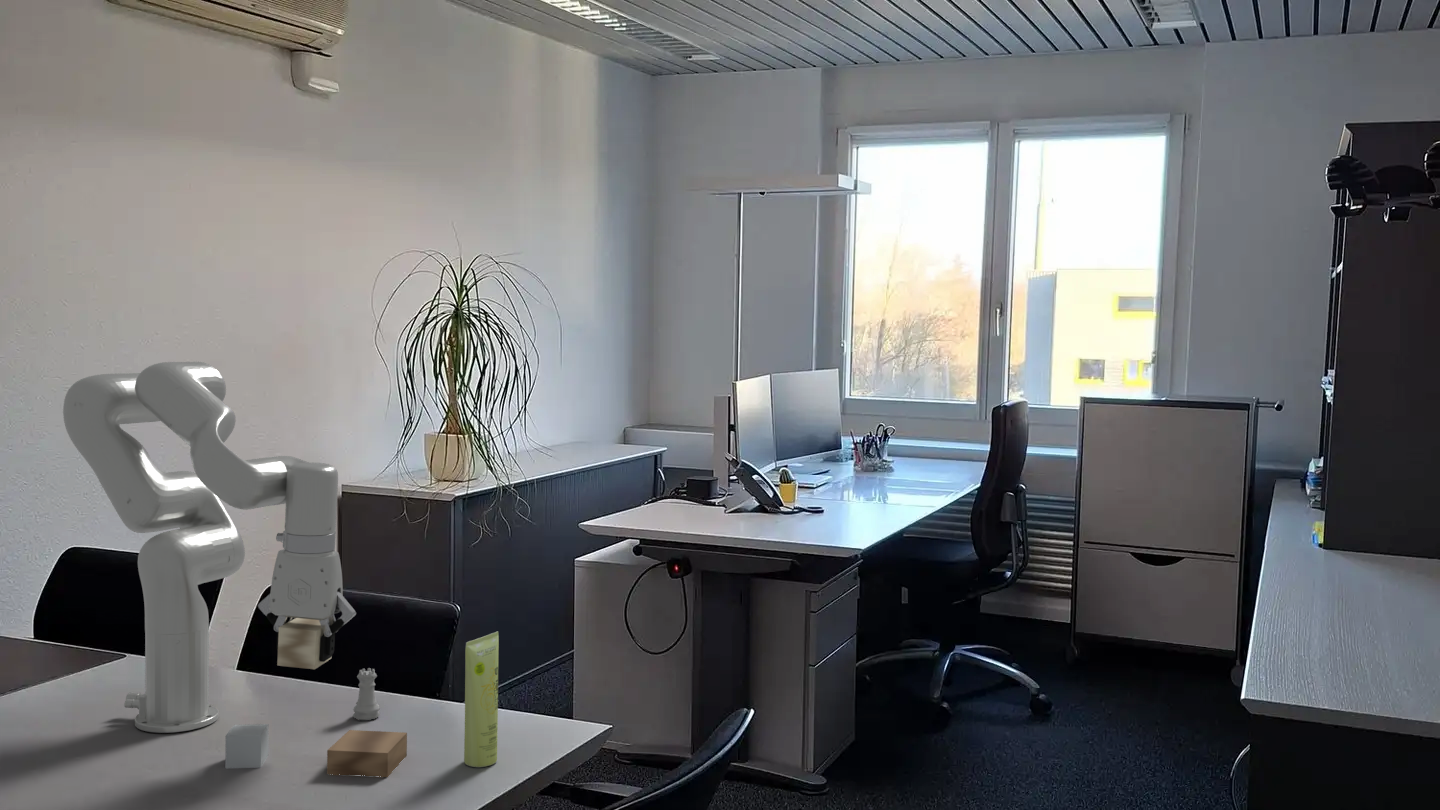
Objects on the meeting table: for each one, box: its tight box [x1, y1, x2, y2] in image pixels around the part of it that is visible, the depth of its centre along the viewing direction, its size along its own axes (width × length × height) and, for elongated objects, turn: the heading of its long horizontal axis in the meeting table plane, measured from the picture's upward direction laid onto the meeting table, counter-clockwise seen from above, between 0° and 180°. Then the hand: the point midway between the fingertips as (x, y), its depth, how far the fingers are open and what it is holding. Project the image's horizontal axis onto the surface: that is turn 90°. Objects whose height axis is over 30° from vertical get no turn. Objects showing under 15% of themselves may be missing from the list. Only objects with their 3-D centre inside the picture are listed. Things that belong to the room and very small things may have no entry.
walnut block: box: [326, 729, 408, 778], centre depth 180 cm, size 9×9×4 cm
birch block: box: [276, 618, 333, 670], centre depth 187 cm, size 6×6×6 cm
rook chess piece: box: [352, 667, 381, 721], centre depth 202 cm, size 4×4×8 cm
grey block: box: [224, 723, 269, 770], centre depth 180 cm, size 5×5×5 cm
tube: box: [463, 631, 500, 768], centre depth 182 cm, size 6×5×20 cm
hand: (305, 656), depth 187 cm, fingers closed on birch block, 6 cm apart
